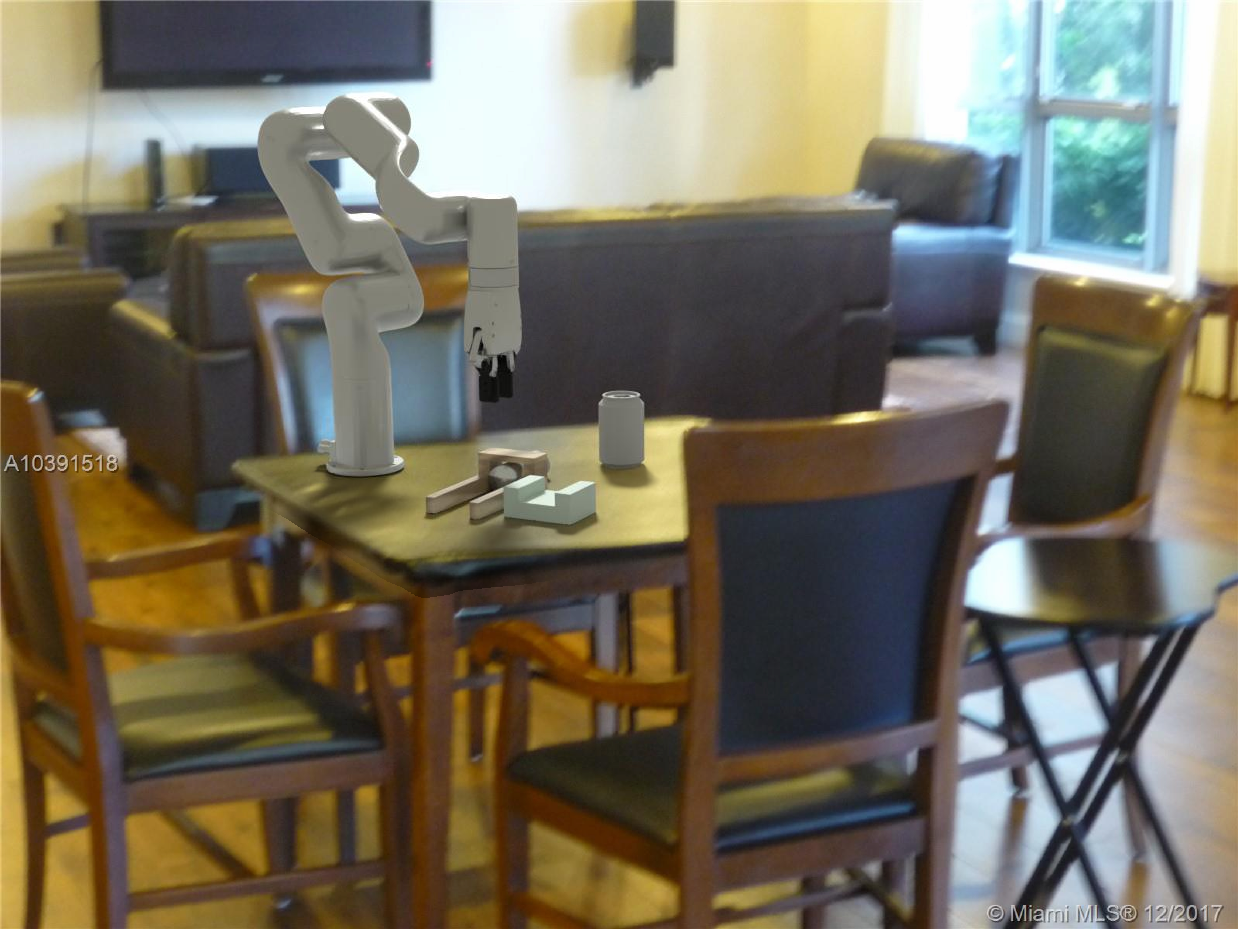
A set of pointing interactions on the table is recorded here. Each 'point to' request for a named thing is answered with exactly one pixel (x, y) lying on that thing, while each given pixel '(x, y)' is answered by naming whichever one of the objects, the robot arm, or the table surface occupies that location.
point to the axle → (508, 474)
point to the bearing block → (487, 482)
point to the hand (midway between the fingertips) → (496, 398)
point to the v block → (549, 501)
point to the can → (621, 429)
